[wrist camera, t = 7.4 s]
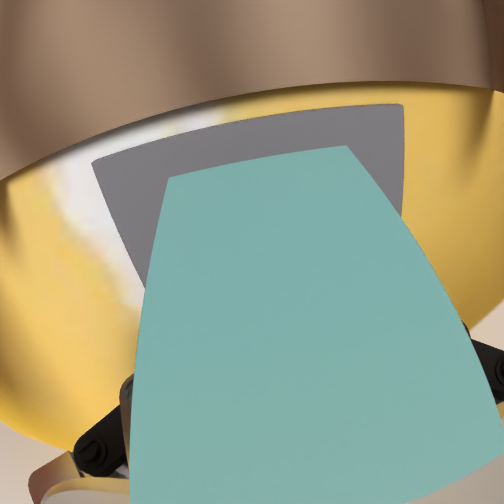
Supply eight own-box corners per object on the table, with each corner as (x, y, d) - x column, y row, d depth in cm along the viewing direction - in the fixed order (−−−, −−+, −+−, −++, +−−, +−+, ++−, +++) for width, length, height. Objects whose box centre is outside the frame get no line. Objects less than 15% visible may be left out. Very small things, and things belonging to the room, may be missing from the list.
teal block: (346, 144, 8) (509, 449, 2) (341, 265, 11) (406, 476, 6) (168, 177, 8) (130, 527, 2) (212, 289, 12) (225, 511, 6)
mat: (398, 103, 10) (403, 105, 9) (387, 293, 15) (390, 298, 15) (94, 160, 10) (91, 163, 10) (172, 333, 16) (172, 338, 16)
